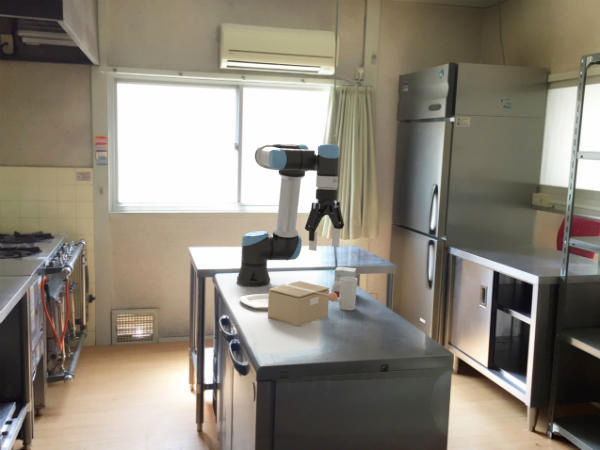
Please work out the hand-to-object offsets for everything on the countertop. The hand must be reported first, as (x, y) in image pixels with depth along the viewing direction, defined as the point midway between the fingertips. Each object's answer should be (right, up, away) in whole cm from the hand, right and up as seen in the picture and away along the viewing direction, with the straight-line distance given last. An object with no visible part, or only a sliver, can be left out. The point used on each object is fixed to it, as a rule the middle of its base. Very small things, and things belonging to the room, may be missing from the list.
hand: (324, 248), depth 201 cm
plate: (-22, -24, +23) cm, 40 cm away
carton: (-9, -26, +8) cm, 28 cm away
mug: (+8, -25, +22) cm, 34 cm away
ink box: (+10, -22, +42) cm, 49 cm away
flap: (-5, -17, +4) cm, 18 cm away
